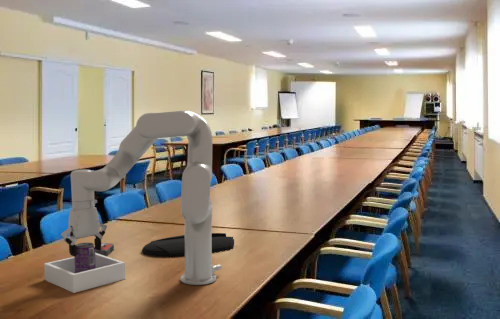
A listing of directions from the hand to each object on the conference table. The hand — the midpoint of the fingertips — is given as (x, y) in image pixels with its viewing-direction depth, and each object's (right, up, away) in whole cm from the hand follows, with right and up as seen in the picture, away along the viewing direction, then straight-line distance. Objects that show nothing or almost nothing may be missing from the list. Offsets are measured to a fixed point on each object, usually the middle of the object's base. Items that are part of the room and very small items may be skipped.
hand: (85, 252), depth 190 cm
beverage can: (0, -9, +1) cm, 9 cm away
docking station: (+31, -6, +44) cm, 55 cm away
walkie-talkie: (-5, -7, +33) cm, 35 cm away
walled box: (-1, -10, +1) cm, 10 cm away
